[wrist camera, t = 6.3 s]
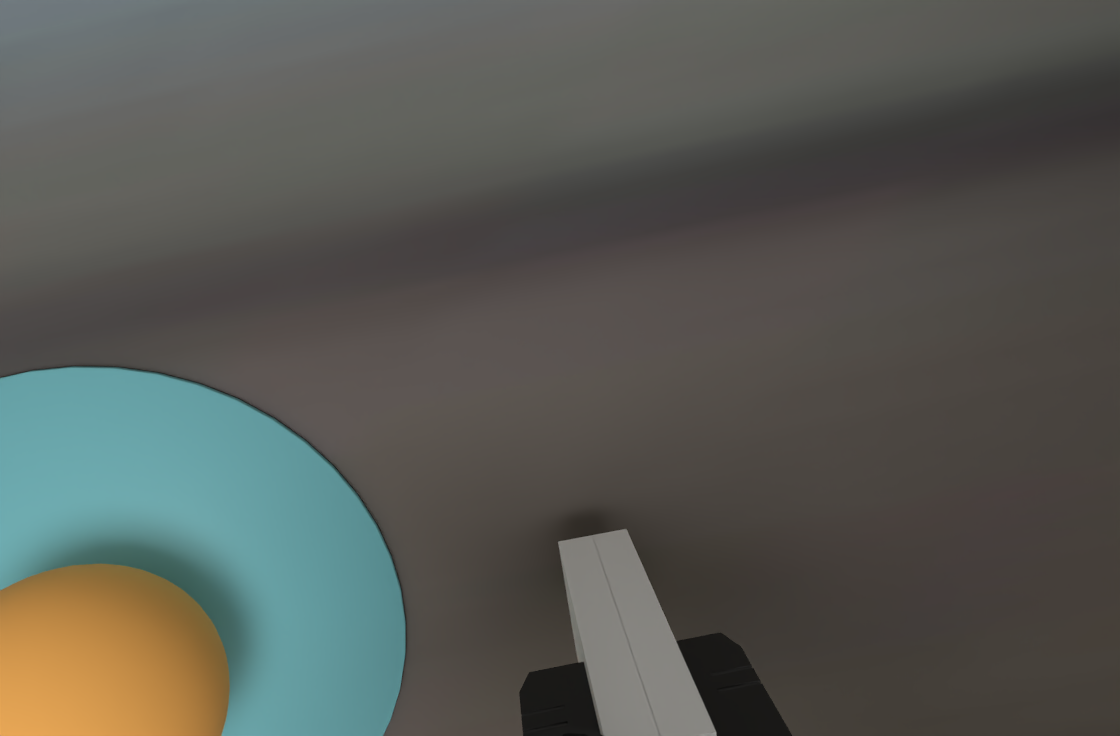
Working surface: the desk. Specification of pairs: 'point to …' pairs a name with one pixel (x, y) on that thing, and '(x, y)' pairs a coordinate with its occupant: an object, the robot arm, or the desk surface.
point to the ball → (108, 657)
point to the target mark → (211, 535)
